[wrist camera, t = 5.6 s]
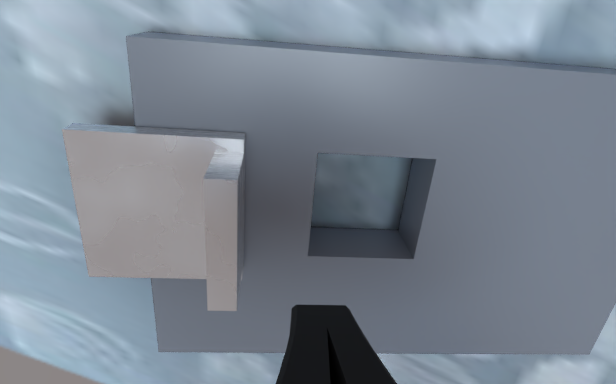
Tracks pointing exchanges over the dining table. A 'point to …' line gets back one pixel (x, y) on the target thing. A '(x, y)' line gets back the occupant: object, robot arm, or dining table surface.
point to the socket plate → (418, 200)
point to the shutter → (161, 204)
